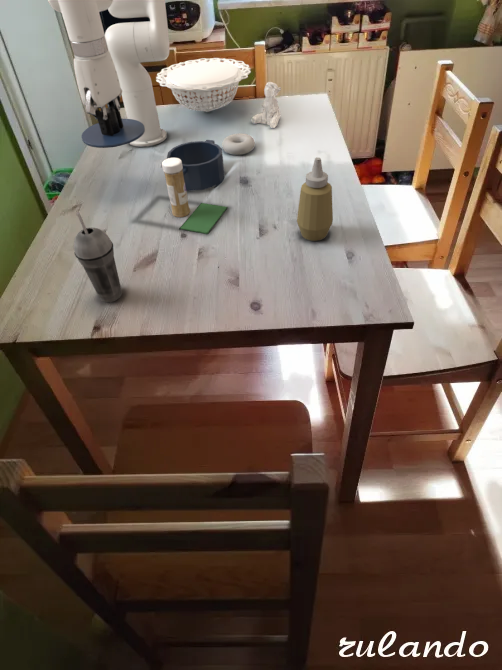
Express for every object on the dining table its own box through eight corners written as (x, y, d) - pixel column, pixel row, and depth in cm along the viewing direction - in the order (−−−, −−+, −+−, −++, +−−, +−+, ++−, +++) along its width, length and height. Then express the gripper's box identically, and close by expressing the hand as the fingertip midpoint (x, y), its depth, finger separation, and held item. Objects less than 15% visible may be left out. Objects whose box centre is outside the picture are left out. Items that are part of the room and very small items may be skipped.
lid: (70, 146, 113) (61, 120, 108) (105, 120, 123) (98, 96, 118) (124, 153, 109) (117, 127, 104) (156, 126, 118) (151, 101, 114)
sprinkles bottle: (191, 216, 114) (182, 163, 104) (173, 219, 114) (162, 167, 104) (189, 206, 117) (180, 155, 108) (171, 210, 117) (160, 158, 107)
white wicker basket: (263, 97, 169) (262, 58, 159) (238, 133, 148) (235, 90, 139) (182, 94, 176) (176, 56, 167) (147, 128, 155) (139, 87, 146)
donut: (221, 158, 137) (255, 156, 136) (220, 146, 134) (254, 144, 133) (223, 143, 143) (255, 141, 143) (222, 132, 141) (254, 130, 140)
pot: (157, 193, 124) (152, 166, 119) (190, 160, 137) (187, 134, 131) (206, 200, 120) (203, 173, 114) (236, 165, 132) (234, 140, 127)
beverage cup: (130, 282, 98) (103, 197, 83) (125, 305, 93) (95, 218, 78) (96, 284, 98) (64, 199, 84) (89, 308, 93) (53, 221, 78)
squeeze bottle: (290, 229, 108) (291, 154, 95) (321, 221, 110) (326, 146, 97) (305, 248, 103) (308, 171, 90) (338, 238, 104) (345, 162, 92)
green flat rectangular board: (134, 221, 115) (134, 219, 114) (158, 197, 122) (158, 196, 122) (207, 234, 109) (207, 232, 109) (227, 208, 116) (227, 206, 116)
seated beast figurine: (250, 123, 153) (248, 84, 144) (265, 114, 157) (264, 75, 149) (273, 129, 149) (272, 89, 140) (288, 119, 153) (288, 80, 144)
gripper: (97, 35, 108) (118, 116, 121) (52, 58, 97) (80, 144, 111) (124, 36, 105) (142, 119, 119) (81, 60, 95) (107, 147, 108)
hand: (112, 130), depth 115 cm, fingers closed on lid, 3 cm apart
